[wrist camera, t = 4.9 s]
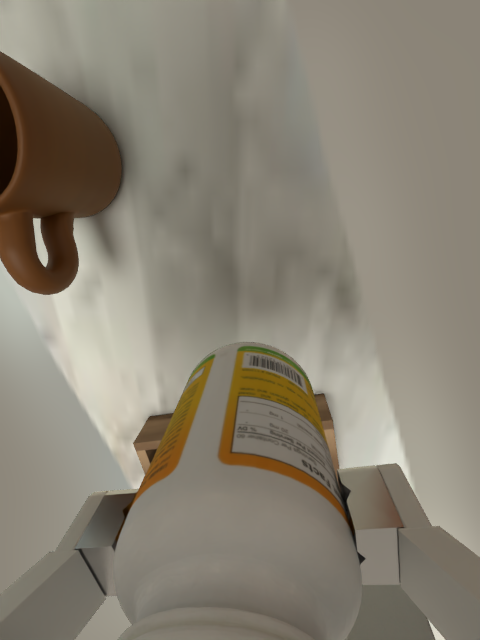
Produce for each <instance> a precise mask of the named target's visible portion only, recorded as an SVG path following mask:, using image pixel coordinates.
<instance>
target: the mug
mask: <svg viewBox="0 0 480 640" xmlns="http://www.w3.org/2000/svg"><path fill="white" fill-rule="evenodd" d="M121 173H122V166H121V157H120V153H119V149H118V146H117V143H116V141H115V139H114V137H113V135H112V133H111V132H110V130H109V128H108V127H107V126H106V125H105V123H104V122H103V121H102V120H101V118H99V117H98V116H97V115H96V114H95V113H94V112H93V111H92V110H90V109H89V108H88V107H87V106H85V105H84V104H82V103H81V102H79V101H78V100H76V99H74V98H73V97H71V96H70V95H68V94H67V93H65V92H64V91H62V90H61V89H59V88H58V87H56V86H55V85H53V84H52V83H50V82H48V81H47V80H45V79H44V78H42V77H41V76H39V75H37V74H36V73H34V72H33V71H31V70H30V69H28V68H26V67H25V66H23V65H22V64H20V63H18V62H17V61H15V60H14V59H12V58H11V57H9V56H7V55H5V54H4V53H2V52H0V258H1V261H2V262H3V264H4V266H5V268H6V269H7V271H8V273H9V274H10V275H11V276H12V277H13V279H14V280H15V281H16V282H17V283H18V284H19V285H21V286H22V287H24V288H26V289H27V290H29V291H31V292H34V293H38V294H43V295H50V294H56V293H59V292H61V291H63V290H64V289H66V288H67V287H69V285H70V284H71V283H72V282H73V280H74V279H75V277H76V274H77V271H78V266H79V258H78V251H77V247H76V243H75V240H74V236H73V229H74V228H73V221H74V218H82V217H88V216H91V215H94V214H96V213H98V212H100V211H102V210H103V209H105V208H106V207H107V206H108V205H109V204H110V203H111V201H112V200H113V199H114V197H115V195H116V193H117V191H118V188H119V185H120V181H121ZM33 218H41V233H42V238H43V241H44V244H45V246H46V249H47V252H48V264H47V266H46V267H44V266H43V265H42V263H41V262H40V260H39V258H38V255H37V252H36V243H35V235H34V226H33Z"/></svg>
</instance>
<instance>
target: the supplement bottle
mask: <svg viewBox="0 0 480 640" xmlns="http://www.w3.org/2000/svg"><path fill="white" fill-rule="evenodd" d="M113 577H114V584H115V590H116V594H117V597H118V600H119V602H120V605H121V607H122V609H123V611H124V613H125V615H126V617H127V618H128V620H129V621H130V623H131V624H132V626H130V627H129V628H127V629H126V630H125V631H124V632H123V633H122V634H121V636H120V637H119V639H118V640H345V639H346V638H347V636H348V634H349V633H350V631H351V629H352V627H353V626H354V623H355V621H356V618H357V616H358V612H359V608H360V604H361V597H362V574H361V568H360V563H359V558H358V554H357V550H356V545H355V541H354V537H353V533H352V529H351V526H350V523H349V519H348V516H347V512H346V509H345V506H344V502H343V499H342V495H341V491H340V488H339V484H338V481H337V477H336V473H335V469H334V466H333V462H332V458H331V454H330V450H329V447H328V444H327V440H326V437H325V432H324V429H323V426H322V421H321V418H320V415H319V411H318V407H317V404H316V400H315V396H314V393H313V390H312V387H311V384H310V381H309V379H308V377H307V375H306V373H305V372H304V370H303V369H302V368H301V366H300V365H299V364H298V363H297V362H296V361H295V360H294V359H293V358H291V357H290V356H289V355H287V354H286V353H284V352H283V351H281V350H279V349H277V348H274V347H272V346H269V345H265V344H261V343H254V342H242V343H235V344H230V345H227V346H224V347H221V348H219V349H217V350H215V351H214V352H212V353H210V354H209V355H208V356H206V357H205V358H204V359H203V360H202V361H201V362H200V363H199V364H198V365H197V367H196V368H195V369H194V371H193V373H192V374H191V376H190V378H189V380H188V382H187V385H186V387H185V389H184V391H183V393H182V396H181V398H180V400H179V403H178V405H177V407H176V409H175V412H174V414H173V416H172V418H171V421H170V423H169V425H168V427H167V429H166V432H165V434H164V436H163V438H162V440H161V442H160V444H159V446H158V449H157V451H156V453H155V456H154V458H153V460H152V462H151V464H150V466H149V468H148V471H147V473H146V475H145V477H144V479H143V482H142V484H141V486H140V488H139V490H138V493H137V495H136V497H135V499H134V502H133V504H132V506H131V508H130V511H129V513H128V515H127V518H126V520H125V523H124V526H123V528H122V530H121V533H120V535H119V538H118V542H117V545H116V549H115V554H114V563H113Z"/></svg>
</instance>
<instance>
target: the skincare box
mask: <svg viewBox="0 0 480 640" xmlns="http://www.w3.org/2000/svg"><path fill="white" fill-rule="evenodd" d="M345 640H435V637H434V635H433V632H432V629H431V627H430V624H429V621H428V619H427V617H426V616H425V615H424V614H423V612H422V611H421V610H420V609H419V608H418V607H417V605H416V604H415V603H414V602H413V601H412V600H411V598H410V597H409V596H408V595H407V594H406V592H405V591H404V590H403V589H402V588H401V585H362V597H361V604H360V608H359V612H358V616H357V618H356V621H355V623H354V626H353V627H352V629H351V631H350V633H349V634H348V636H347V638H346V639H345Z"/></svg>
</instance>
